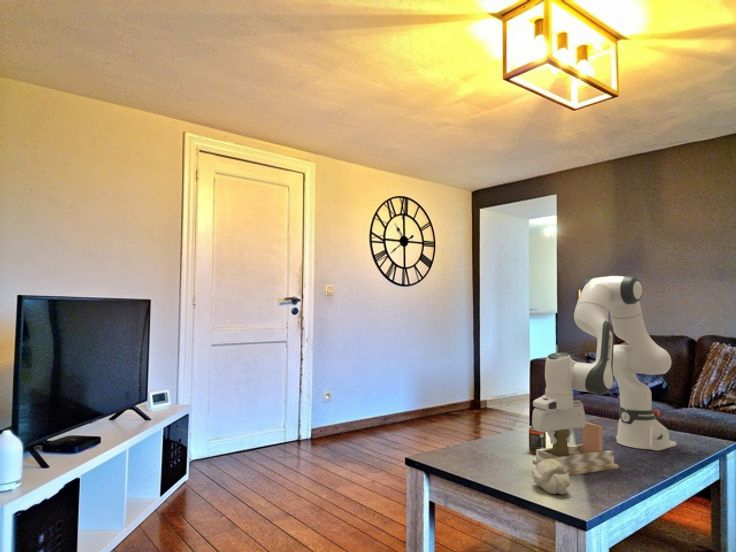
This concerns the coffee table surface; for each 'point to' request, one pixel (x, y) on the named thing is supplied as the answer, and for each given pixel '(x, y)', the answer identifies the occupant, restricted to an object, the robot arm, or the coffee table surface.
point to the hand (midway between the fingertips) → (560, 443)
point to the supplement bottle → (536, 440)
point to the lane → (579, 460)
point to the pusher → (592, 438)
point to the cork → (560, 444)
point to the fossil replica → (551, 476)
